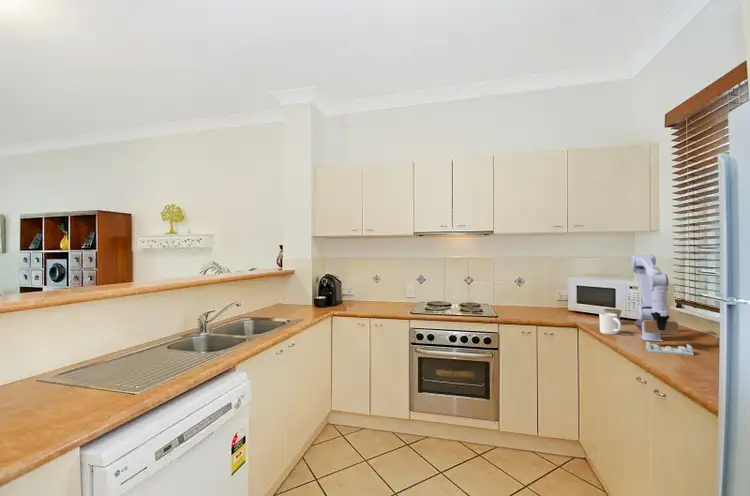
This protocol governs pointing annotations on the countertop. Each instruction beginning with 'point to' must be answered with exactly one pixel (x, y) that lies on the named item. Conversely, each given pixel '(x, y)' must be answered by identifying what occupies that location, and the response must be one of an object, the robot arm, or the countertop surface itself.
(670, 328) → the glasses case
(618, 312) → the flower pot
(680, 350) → the display stand
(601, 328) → the mug
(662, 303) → the robot arm
